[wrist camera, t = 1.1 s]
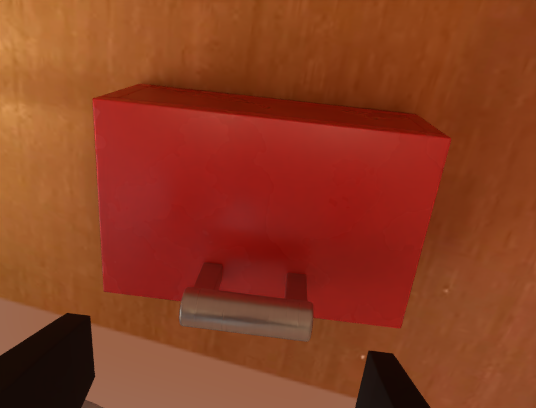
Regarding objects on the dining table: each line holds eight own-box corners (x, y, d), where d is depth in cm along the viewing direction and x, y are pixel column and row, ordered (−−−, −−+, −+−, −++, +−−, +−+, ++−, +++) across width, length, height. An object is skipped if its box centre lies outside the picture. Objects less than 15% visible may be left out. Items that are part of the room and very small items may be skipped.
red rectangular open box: (383, 261, 19) (401, 308, 16) (141, 232, 20) (108, 273, 16) (417, 113, 17) (446, 134, 13) (138, 83, 17) (98, 95, 14)
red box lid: (398, 320, 16) (421, 388, 13) (108, 284, 16) (64, 342, 13) (447, 134, 13) (490, 164, 10) (98, 95, 14) (40, 113, 11)
